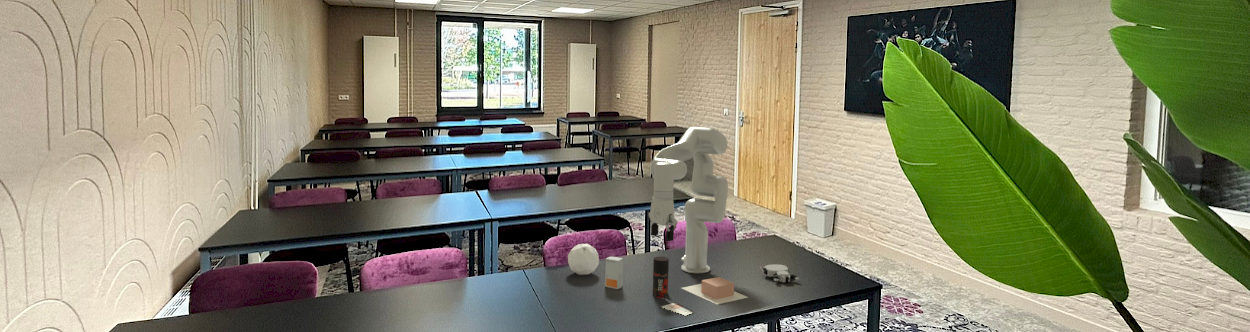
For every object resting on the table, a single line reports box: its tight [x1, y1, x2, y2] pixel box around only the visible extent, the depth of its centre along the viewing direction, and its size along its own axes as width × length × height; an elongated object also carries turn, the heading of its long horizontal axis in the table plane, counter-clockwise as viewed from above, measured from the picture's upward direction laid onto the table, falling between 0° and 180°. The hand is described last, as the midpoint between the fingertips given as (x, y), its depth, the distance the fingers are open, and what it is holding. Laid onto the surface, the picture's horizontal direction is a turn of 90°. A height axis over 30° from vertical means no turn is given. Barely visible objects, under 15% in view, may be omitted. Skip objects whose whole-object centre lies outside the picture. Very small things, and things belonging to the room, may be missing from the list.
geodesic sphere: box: [567, 243, 600, 276], centre depth 308 cm, size 14×14×14 cm
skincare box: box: [604, 256, 624, 290], centre depth 293 cm, size 6×4×12 cm
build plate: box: [681, 283, 749, 305], centre depth 286 cm, size 22×16×1 cm
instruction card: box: [661, 301, 696, 317], centre depth 270 cm, size 12×9×1 cm
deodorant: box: [652, 256, 670, 299], centre depth 283 cm, size 6×6×15 cm
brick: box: [700, 276, 735, 299], centre depth 284 cm, size 9×9×5 cm
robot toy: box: [759, 264, 800, 283], centre depth 309 cm, size 12×4×15 cm
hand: (661, 238), depth 281 cm, fingers open, 9 cm apart
